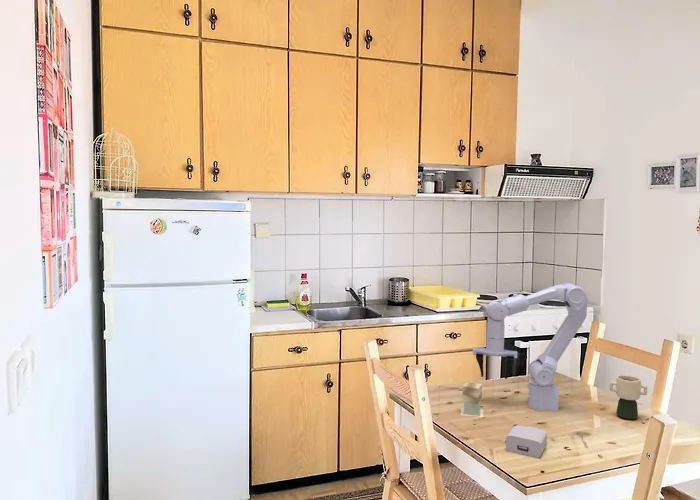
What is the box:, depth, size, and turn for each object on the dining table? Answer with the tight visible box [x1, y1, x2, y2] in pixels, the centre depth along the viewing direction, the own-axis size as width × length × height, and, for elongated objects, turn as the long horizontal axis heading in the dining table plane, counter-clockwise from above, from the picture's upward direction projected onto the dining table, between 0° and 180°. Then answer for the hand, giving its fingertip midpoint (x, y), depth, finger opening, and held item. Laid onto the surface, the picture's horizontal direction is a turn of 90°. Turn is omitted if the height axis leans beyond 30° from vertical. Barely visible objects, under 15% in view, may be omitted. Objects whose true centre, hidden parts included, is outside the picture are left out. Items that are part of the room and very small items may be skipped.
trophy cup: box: [609, 374, 648, 420], centre depth 176 cm, size 11×7×13 cm, turn 69°
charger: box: [505, 424, 548, 459], centre depth 154 cm, size 5×9×15 cm
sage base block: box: [463, 401, 481, 416], centre depth 176 cm, size 5×5×4 cm
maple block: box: [461, 381, 483, 404], centre depth 175 cm, size 5×5×5 cm
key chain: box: [563, 433, 589, 450], centre depth 156 cm, size 13×7×1 cm, turn 161°
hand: (493, 377), depth 183 cm, fingers open, 7 cm apart
